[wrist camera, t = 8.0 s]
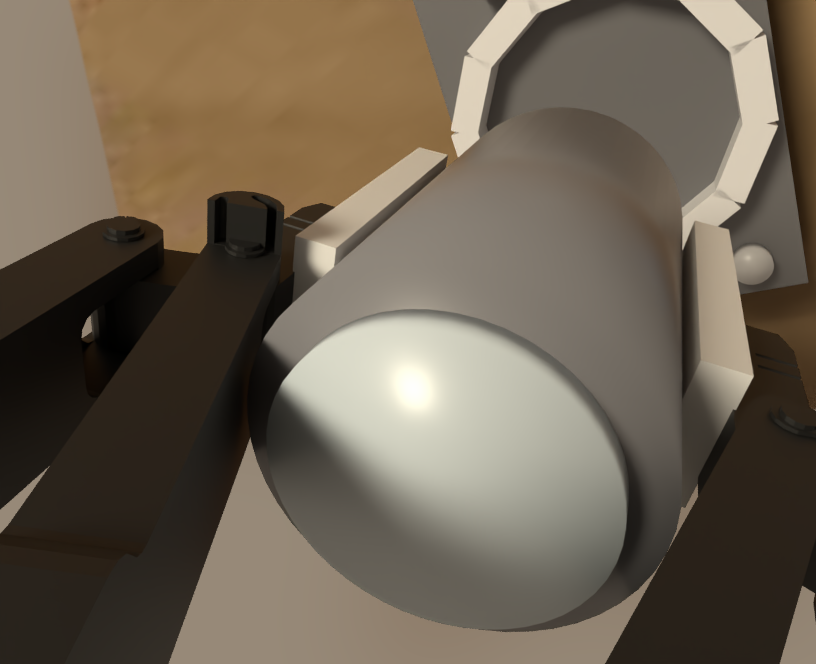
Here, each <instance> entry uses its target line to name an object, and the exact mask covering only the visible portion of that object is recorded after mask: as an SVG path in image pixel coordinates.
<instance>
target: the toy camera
mask: <svg viewBox="0 0 816 664" xmlns="http://www.w3.org/2000/svg"><path fill="white" fill-rule="evenodd" d="M413 2H414V5H415V8H416V11H417V15H418V18H419V21H420V24H421V27H422V30H423V33H424V37H425V40H426V43H427V46H428V49H429V52H430V55H431V59H432V62H433V65H434V68H435V71H436V74H437V77H438V81H439V84H440V87H441V90H442V93H443V96H444V99H445V103H446V106H447V109H448V112H449V115H450V118H451V121H452V127H451V131H454V132H455V133H454V134H453V135H451V137H452V140H453V143H454V146H455V149H456V152H457V155H458V157H459V156H460V155H462V154H463V153H464V152H465V151H466V150H467V149H468V148H470V147H471V146H472V145H473V144H474V143H475V142H476V141H478V140H479V139H480V138H481V137H482V136H483V135H485V134H486V133H487V132H489V131H490V130H491V129H493V128H494V127H495V126H497V125H499V124H501V123H503V122H504V121H506V120H508V119H510V118H513V117H515V116H518V115H520V114H523V113H526V112H530V111H534V110H539V109H545V108H555V107H565V108H578V109H584V110H590V111H594V112H597V113H600V114H603V115H607V116H609V117H611V118H613V119H615V120H618V121H620V122H622V123H624V124H625V125H627V126H628V127H630V128H631V129H633V130H634V131H636V132H637V133H638V134H640V135H641V136H642V137H643V138H644V139H645V140H646V141H648V142H649V143H650V144H651V145H652V147H653V148H654V149H655V150H656V151H657V152H658V154H659V155H660V156H661V157H662V159H663V160H664V162H665V164H666V165H667V167H668V168H669V170H670V172H671V174H672V177H673V179H674V181H675V183H676V186H677V190H678V193H679V197H680V200H681V208H682V216H683V230H682V251H683V248H684V246H685V243H686V241H687V238H688V236H689V233H690V231H691V228H692V226H693V224H694V221H698V222H702V223H706V224H710V225H714V226H717V227H721V228H725V229H729V233H730V239H731V245H732V251H733V257H734V263H735V269H736V275H737V281H738V286H739V292H740V294H746V293H751V292H757V291H763V290H769V289H775V288H781V287H786V286H792V285H798V284H804V283H808V277H807V270H806V263H805V256H804V250H803V243H802V236H801V229H800V223H799V216H798V209H797V202H796V196H795V189H794V182H793V175H792V169H791V162H790V155H789V148H788V142H787V135H786V128H785V122H784V115H783V108H782V101H781V95H780V88H779V81H778V74H777V68H776V61H775V54H774V47H773V41H772V34H771V27H770V20H769V14H768V7H767V0H413Z"/></svg>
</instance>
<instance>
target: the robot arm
mask: <svg viewBox="0 0 816 664" xmlns="http://www.w3.org/2000/svg"><path fill="white" fill-rule="evenodd" d="M447 157H448V155H446V154H442V153H438V152H435V151H431V150H427V149H423V148H418V149H416V150H415V151H414V152H412V153H411V154H409V155H408V156H407V157H405V158H404V159H402V160H401V161H400V162H398V163H397V164H395V165H394V166H393V167H391V168H390V169H388V170H387V171H386V172H384V173H383V174H381V175H380V176H379V177H377V178H376V179H374V180H373V181H371V182H370V183H369V184H367V185H366V186H364V187H363V188H362V189H360V190H359V191H357V192H356V193H355V194H353V195H352V196H350V197H349V198H348V199H346V200H345V201H343V202H342V203H341V204H339V205H338V206H336V207H333V206H330V205H326V204H323V203H320V204H316V205H312V206H307V207H303V208H301V209H300V210H298V211H297V212H295V213H294V214H292V215H290V218H289V217H287V218H286V219H284V206H283V205H282V204H281V202H280V201H279V200H276V199H274V198H272V197H270V196H268V195H263V194H259V193H255V192H245V191H232V192H223V193H219V194H215V195H213V196H212V197H210V198H209V199H208V215H207V244H206V246H205V247H204V248H203V250H202V251H201V253H200V254H198V253H189V252H181V251H174V250H167V249H164V241H163V230H162V229H161V228H160V227H159V226H158V225H156V224H154V223H151V222H149V221H147V220H141V219H137V218H135V217H128V216H127V217H126V218H125V216H117V217H114V218H111V219H103V220H100V221H97V222H94V223H91V224H89V225H87V226H85V227H83V228H82V229H80V230H78V231H76V232H74V233H72V234H70V235H68V236H66V237H64V238H62V239H60V240H58V241H56V242H54V243H52V244H50V245H48V246H46V247H44V248H42V249H40V250H38V251H36V252H34V253H32V254H30V255H29V256H26V257H24V258H22V259H20V260H18V261H17V262H14V263H13V264H10V265H9V266H7V267H5V268H3V269H1V270H0V509H1V508H2V507H4V506H5V505H6V504H7V503H8V502H9V501H10V500H12V499H13V498H14V497H15V496H16V495H17V494H18V493H19V492H21V491H22V490H23V489H24V488H25V487H26V486H27V485H28V484H30V483H31V482H32V481H33V480H34V479H35V478H36V477H37V476H39V475H40V474H41V473H42V472H43V471H44V470H45V469H46V468H48V467H49V466H50V467H49V468H48V469H47V471H46V472H45V474H44V475H43V477H42V478H41V479H40V481H39V482H38V484H37V485H36V487H35V488H34V489H33V491H32V492H31V494H30V495H29V496H28V498H27V499H26V501H25V502H24V503H23V505H22V506H21V508H20V509H19V511H18V512H17V513H16V515H15V516H14V518H13V519H12V521H11V522H10V523H9V525H8V526H7V527H6V528H5V529H4V530H3V531H2V532H1V533H0V664H168V663H169V661H170V658H171V655H172V652H173V650H174V647H175V644H176V641H177V638H178V636H179V633H180V630H181V627H182V625H183V622H184V619H185V616H186V614H187V611H188V608H189V605H190V602H191V600H192V597H193V594H194V591H195V589H196V586H197V583H198V580H199V578H200V575H201V572H202V569H203V567H204V564H205V561H206V558H207V555H208V553H209V550H210V547H211V545H212V542H213V539H214V536H215V533H216V531H217V528H218V525H219V522H220V520H221V517H222V514H223V511H224V509H225V506H226V503H227V500H228V497H229V495H230V492H231V489H232V486H233V484H234V481H235V478H236V475H237V473H238V470H239V467H240V464H241V462H242V459H243V456H244V453H245V451H246V448H247V444H248V442H249V439H250V431H249V425H248V417H247V394H248V386H249V377H250V374H251V370H252V367H253V363H254V360H255V356H256V354H257V352H258V350H259V348H260V346H261V343H262V341H263V339H264V337H265V335H266V334H267V333H268V331H269V330H270V328H271V327H272V326H273V324H274V323H275V321H276V320H277V319H278V317H279V316H280V315H281V314H282V313H283V312H284V311H285V310H286V309H287V308H288V307H289V306H290V305H291V304H292V303H293V302H295V301H296V300H297V299H298V298H299V297H300V296H301V295H302V294H304V293H305V292H306V291H307V290H308V289H309V288H310V287H312V286H313V285H314V284H315V283H316V282H317V281H318V280H319V279H321V278H322V277H323V276H324V275H325V274H326V273H327V272H329V271H330V270H331V269H332V268H333V267H334V266H335V265H337V264H338V263H339V262H340V261H341V260H342V259H343V258H345V257H346V256H347V255H348V254H349V253H350V252H351V251H352V250H354V249H355V248H356V247H357V246H358V245H359V244H360V243H362V242H363V241H364V240H365V239H366V238H367V237H368V236H370V235H371V234H372V233H373V232H374V231H375V230H376V229H377V228H379V227H380V226H381V225H382V224H383V223H384V222H385V221H387V220H388V219H389V218H390V217H391V216H392V215H393V214H395V213H396V212H397V211H398V210H399V209H400V208H401V207H402V206H404V205H405V204H406V203H407V202H408V201H409V200H410V199H412V198H413V197H414V196H415V195H416V194H417V193H418V192H420V191H421V190H422V189H423V188H424V187H425V186H426V185H428V184H429V183H430V182H431V181H432V180H433V179H434V178H435V177H437V176H438V175H439V174H440V173H441V172H442V171H443V170H445V168H446V163H447ZM90 315H91V323H92V332H91V333H89V334H88V335H87V336H85V337H84V338H81V337H82V329H83V327H84V324H85V322H86V320H87V318H88V317H89V316H90ZM797 366H798V365H797V361H796V358H795V354H794V351H793V350H792V349H791V348H790V347H789V346H788V344H787V343H786V342H785V341H784V340H783V339H782V338H781V337H780V336H779V335H778V334H774V333H771V332H767V331H764V330H761V329H757V328H754V327H750V326H747V325H745V322H744V316H743V310H742V304H741V298H740V292H739V286H738V281H737V275H736V269H735V263H734V257H733V251H732V245H731V239H730V233H729V229H725V228H721V227H717V226H714V225H710V224H706V223H702V222H698V221H694V224H693V226H692V228H691V231H690V233H689V236H688V238H687V241H686V243H685V246H684V248H683V251H682V498H681V507H686V505H687V503H688V501H689V499H690V497H691V495H692V493H693V491H694V490H695V487H696V486H697V484H698V498H697V500H696V501H695V503H694V505H693V507H692V509H691V510H690V512H689V514H688V516H687V518H686V519H685V521H684V523H683V525H682V527H681V528H680V530H679V532H678V534H677V536H676V537H675V539H674V541H673V543H672V545H671V546H670V548H669V550H668V552H667V554H666V555H665V557H664V559H663V561H662V563H661V564H660V566H659V568H658V570H657V572H656V573H655V576H654V577H653V579H652V580H651V582H650V584H649V586H648V588H647V590H646V591H645V593H644V595H643V597H642V598H641V600H640V602H639V604H638V606H637V608H636V609H635V611H634V613H633V615H632V616H631V618H630V620H629V622H628V624H627V625H626V627H625V629H624V631H623V633H622V635H621V636H620V638H619V640H618V642H617V644H616V645H615V647H614V649H613V651H612V653H611V654H610V656H609V658H608V660H607V662H606V663H605V664H780V660H781V657H782V653H783V650H784V646H785V643H786V639H787V636H788V632H789V629H790V625H791V622H792V619H793V615H794V612H795V608H796V605H797V601H798V598H799V594H800V591H801V588H802V586H804V587H806V588H807V589H809V590H811V591H812V592H814V593H815V597H814V611H815V620H816V411H815V410H813V409H811V408H809V404H808V400H807V397H806V393H805V390H804V386H803V383H802V381H801V380H800V379H801V376H800V372H799V369H798V368H797Z"/></svg>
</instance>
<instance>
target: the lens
mask: <svg viewBox="0 0 816 664" xmlns="http://www.w3.org/2000/svg"><path fill="white" fill-rule="evenodd" d="M682 230H683V216H682V208H681V200H680V197H679V193H678V190H677V186H676V183H675V181H674V179H673V177H672V174H671V172H670V170H669V168H668V167H667V165H666V164H665V162H664V160H663V159H662V157H661V156H660V155H659V154H658V152H657V151H656V150H655V149H654V148H653V147H652V145H651V144H650V143H649V142H648V141H646V140H645V139H644V138H643V137H642V136H641V135H640V134H638V133H637V132H636V131H634V130H633V129H631V128H630V127H628V126H627V125H625V124H624V123H622V122H620V121H618V120H615V119H613V118H611V117H609V116H607V115H603V114H600V113H597V112H594V111H590V110H584V109H578V108H565V107H555V108H545V109H539V110H534V111H530V112H526V113H523V114H520V115H518V116H515V117H513V118H510V119H508V120H506V121H504V122H503V123H501V124H499V125H497V126H495V127H494V128H493V129H491V130H490V131H489V132H487V133H486V134H485V135H483V136H482V137H481V138H480V139H479V140H478V141H476V142H475V143H474V144H473V145H472V146H471V147H470V148H468V149H467V150H466V151H465V152H464V153H463V154H462V155H460V156H459V157H458V158H457V159H456V160H455V161H454V162H453V163H451V164H450V165H449V166H448V167H447V168H446V169H445V170H443V171H442V172H441V173H440V174H439V175H438V176H437V177H435V178H434V179H433V180H432V181H431V182H430V183H429V184H428V185H426V186H425V187H424V188H423V189H422V190H421V191H420V192H418V193H417V194H416V195H415V196H414V197H413V198H412V199H410V200H409V201H408V202H407V203H406V204H405V205H404V206H402V207H401V208H400V209H399V210H398V211H397V212H396V213H395V214H393V215H392V216H391V217H390V218H389V219H388V220H387V221H385V222H384V223H383V224H382V225H381V226H380V227H379V228H377V229H376V230H375V231H374V232H373V233H372V234H371V235H370V236H368V237H367V238H366V239H365V240H364V241H363V242H362V243H360V244H359V245H358V246H357V247H356V248H355V249H354V250H352V251H351V252H350V253H349V254H348V255H347V256H346V257H345V258H343V259H342V260H341V261H340V262H339V263H338V264H337V265H335V266H334V267H333V268H332V269H331V270H330V271H329V272H327V273H326V274H325V275H324V276H323V277H322V278H321V279H319V280H318V281H317V282H316V283H315V284H314V285H313V286H312V287H310V288H309V289H308V290H307V291H306V292H305V293H304V294H302V295H301V296H300V297H299V298H298V299H297V300H296V301H295V302H293V303H292V304H291V305H290V306H289V307H288V308H287V309H286V310H285V311H284V312H283V313H282V314H281V315H280V316H279V317H278V319H277V320H276V321H275V323H274V324H273V326H272V327H271V328H270V330H269V331H268V333H267V334H266V335H265V337H264V339H263V341H262V343H261V346H260V348H259V350H258V352H257V354H256V356H255V360H254V363H253V367H252V370H251V374H250V377H249V386H248V394H247V417H248V425H249V431H250V437H251V442H252V445H253V449H254V452H255V456H256V459H257V462H258V464H259V467H260V469H261V471H262V474H263V476H264V479H265V481H266V483H267V485H268V486H269V488H270V490H271V492H272V494H273V496H274V497H275V499H276V501H277V503H278V504H279V506H280V507H281V508H282V510H283V511H284V513H285V514H286V516H287V517H288V518H289V520H290V521H291V523H292V524H293V525H294V526H295V527H296V528H297V530H298V531H299V532H300V533H301V534H302V535H303V536H304V538H305V539H306V540H307V541H308V542H309V543H310V544H311V546H312V547H313V548H314V549H315V550H316V552H317V553H318V554H320V556H322V557H323V558H324V559H325V560H326V561H327V562H328V563H329V564H330V565H331V566H332V567H333V568H335V569H336V570H337V571H338V572H339V573H340V574H342V575H343V576H344V577H345V578H347V579H348V580H349V581H351V582H352V583H354V584H355V585H357V586H358V587H360V588H361V589H362V590H364V591H365V592H367V593H369V594H371V595H372V596H374V597H376V598H378V599H380V600H381V601H383V602H385V603H387V604H389V605H391V606H393V607H396V608H398V609H400V610H402V611H405V612H407V613H410V614H413V615H415V616H418V617H421V618H424V619H427V620H431V621H435V622H438V623H442V624H447V625H452V626H457V627H463V628H472V629H480V630H492V631H502V632H524V631H525V632H526V631H537V630H546V629H554V628H558V627H562V626H567V625H570V624H575V623H578V622H581V621H584V620H586V619H589V618H591V617H594V616H597V615H599V614H601V613H603V612H605V611H606V610H609V609H610V608H612V607H614V606H616V605H618V604H619V603H621V602H622V601H623V600H625V599H626V598H627V597H629V596H630V595H631V594H633V593H634V592H635V591H637V590H638V589H639V588H640V587H641V586H642V585H643V584H644V582H645V581H646V580H647V579H648V578H649V577H650V576H651V575H652V574H653V573H654V571H655V570H656V569H657V567H658V566H659V564H660V563H661V561H662V559H663V558H664V556H665V555H666V553H667V551H668V549H669V546H670V544H671V542H672V539H673V537H674V534H675V532H676V529H677V524H678V519H679V514H680V510H681V498H682Z"/></svg>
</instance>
